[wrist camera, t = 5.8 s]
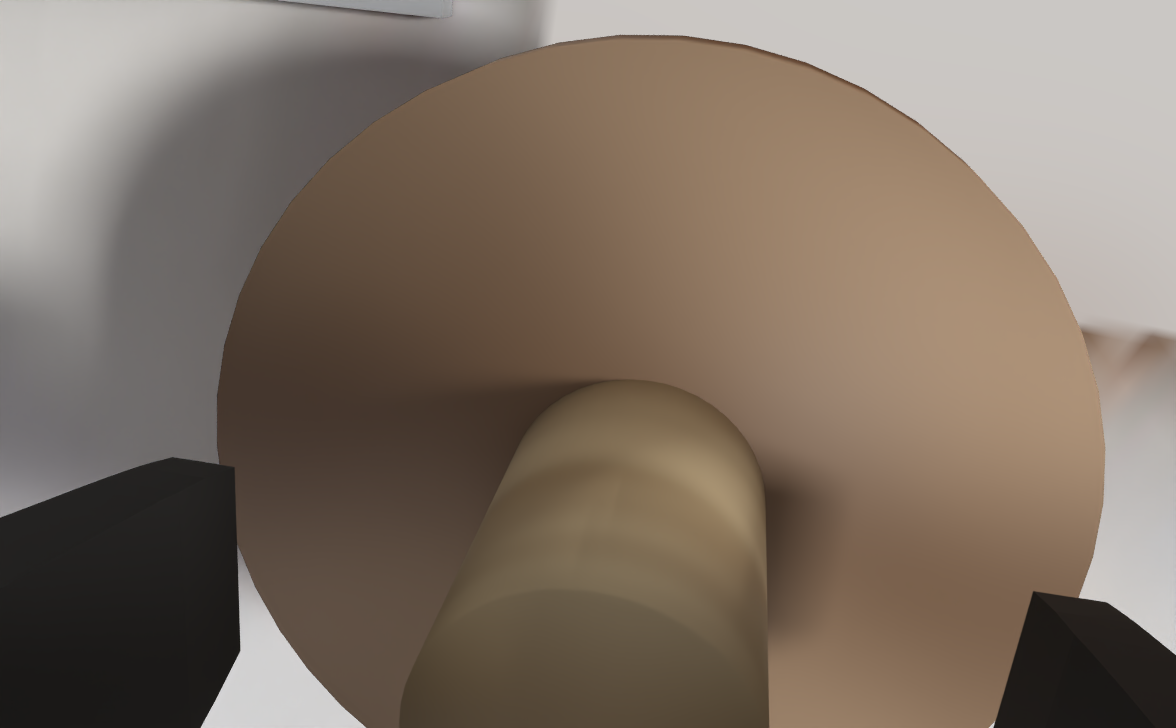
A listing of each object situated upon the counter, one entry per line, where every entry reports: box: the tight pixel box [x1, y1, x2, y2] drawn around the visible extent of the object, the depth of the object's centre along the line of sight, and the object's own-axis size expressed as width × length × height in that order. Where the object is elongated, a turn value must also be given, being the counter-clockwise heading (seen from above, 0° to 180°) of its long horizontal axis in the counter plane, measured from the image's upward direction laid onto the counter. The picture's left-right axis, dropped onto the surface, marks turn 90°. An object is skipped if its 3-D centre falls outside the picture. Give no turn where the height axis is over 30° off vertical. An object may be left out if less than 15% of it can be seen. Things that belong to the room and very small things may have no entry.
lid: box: [217, 35, 1105, 728], centre depth 10 cm, size 10×10×5 cm
